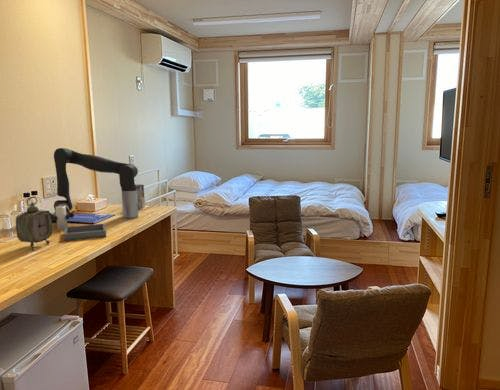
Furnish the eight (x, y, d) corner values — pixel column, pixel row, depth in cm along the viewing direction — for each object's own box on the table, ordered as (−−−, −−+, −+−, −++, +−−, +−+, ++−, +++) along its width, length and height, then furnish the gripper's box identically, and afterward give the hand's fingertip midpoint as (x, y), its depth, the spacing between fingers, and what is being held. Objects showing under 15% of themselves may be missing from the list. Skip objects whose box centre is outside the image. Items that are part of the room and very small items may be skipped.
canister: (67, 227, 234) (65, 205, 231) (67, 230, 229) (65, 207, 227) (57, 228, 232) (55, 206, 229) (57, 230, 227) (55, 208, 225)
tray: (104, 229, 231) (104, 223, 230) (106, 236, 217) (105, 230, 217) (65, 233, 223) (65, 226, 223) (65, 241, 210) (64, 234, 209)
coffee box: (136, 206, 287) (134, 184, 284) (145, 207, 287) (144, 184, 284) (132, 209, 278) (130, 186, 275) (141, 210, 278) (140, 186, 275)
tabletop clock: (33, 252, 192) (28, 200, 188) (16, 250, 194) (11, 199, 189) (53, 243, 206) (49, 194, 201) (37, 241, 208) (33, 193, 203)
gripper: (48, 206, 239) (46, 212, 223) (74, 204, 244) (74, 210, 229) (49, 218, 240) (47, 226, 225) (75, 216, 246) (75, 223, 230)
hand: (61, 218), depth 227 cm, fingers closed on canister, 5 cm apart
